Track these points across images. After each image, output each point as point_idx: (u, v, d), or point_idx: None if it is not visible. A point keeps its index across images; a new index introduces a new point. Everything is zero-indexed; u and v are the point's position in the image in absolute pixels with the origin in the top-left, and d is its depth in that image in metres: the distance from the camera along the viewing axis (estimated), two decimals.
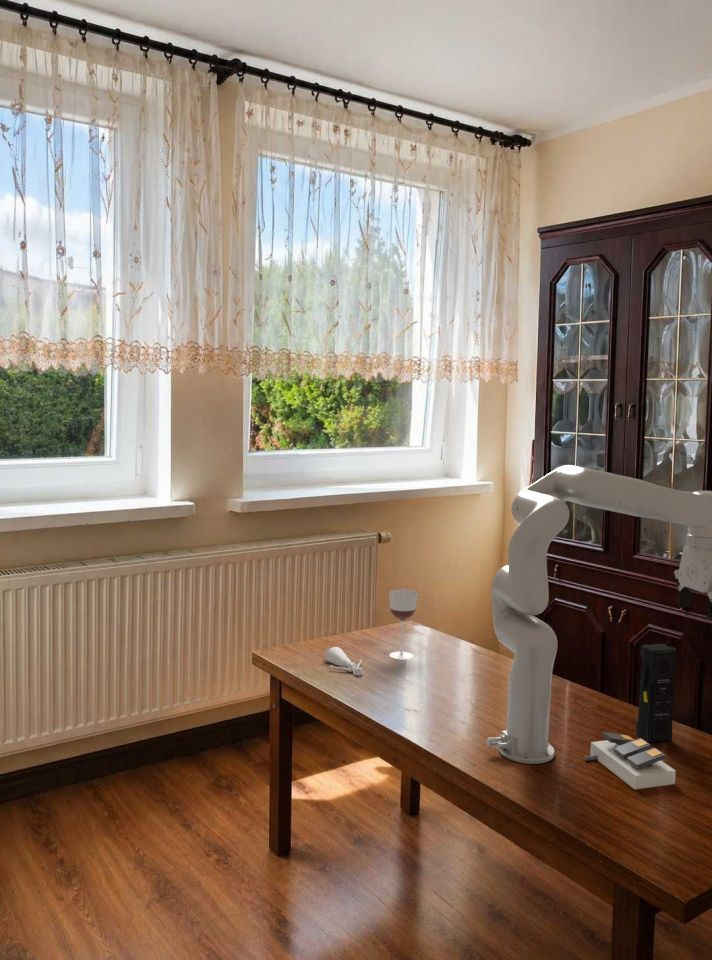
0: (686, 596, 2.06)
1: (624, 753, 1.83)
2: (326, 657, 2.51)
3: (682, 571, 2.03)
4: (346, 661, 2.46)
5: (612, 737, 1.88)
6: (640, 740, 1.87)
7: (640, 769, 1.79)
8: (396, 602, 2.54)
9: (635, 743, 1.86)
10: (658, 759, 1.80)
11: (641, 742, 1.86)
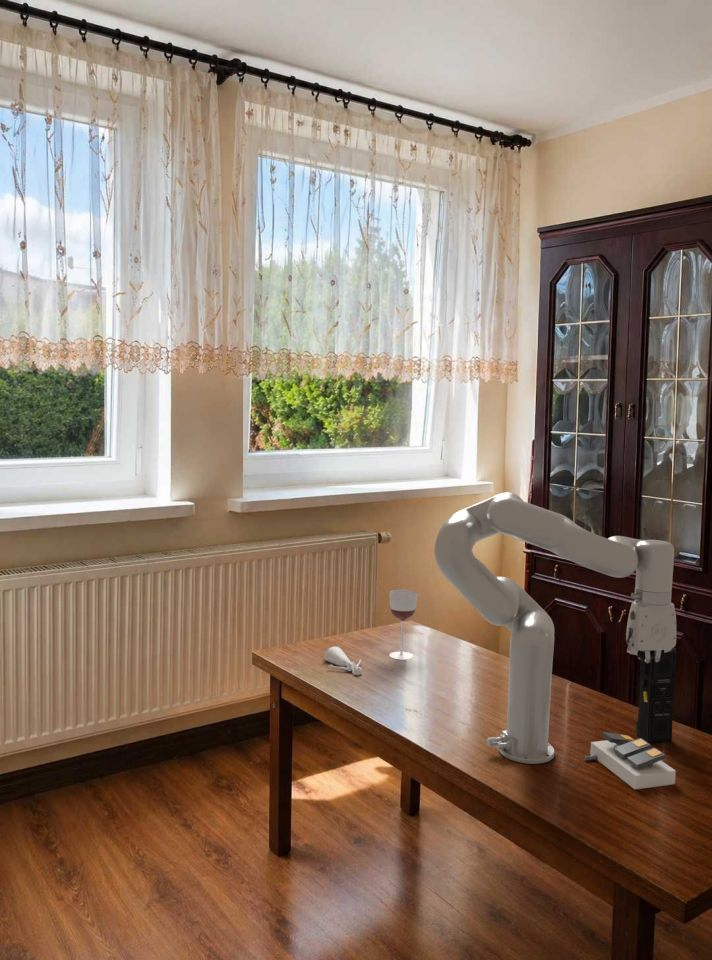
0: None
1: (624, 753, 1.83)
2: (325, 657, 2.51)
3: (645, 635, 1.80)
4: (345, 661, 2.46)
5: (612, 737, 1.88)
6: (640, 740, 1.87)
7: (640, 769, 1.79)
8: (396, 602, 2.54)
9: (635, 743, 1.86)
10: (658, 759, 1.80)
11: (641, 742, 1.86)
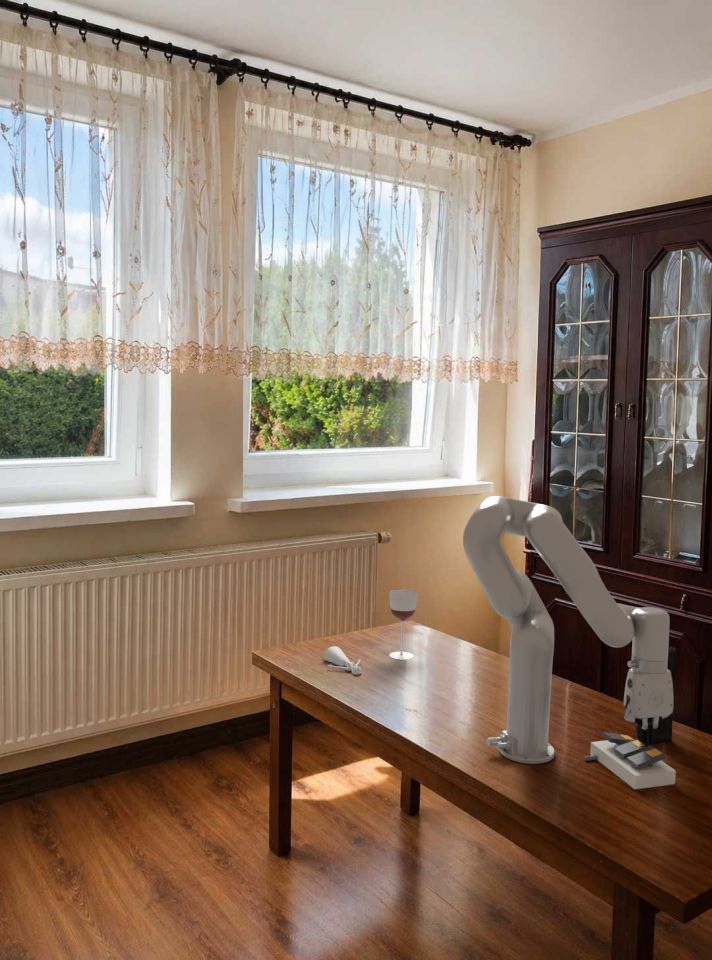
0: None
1: (624, 753, 1.83)
2: (325, 656, 2.52)
3: (642, 703, 1.81)
4: (345, 660, 2.46)
5: (612, 737, 1.88)
6: None
7: (640, 769, 1.79)
8: (396, 602, 2.54)
9: (635, 743, 1.86)
10: (658, 759, 1.80)
11: (641, 742, 1.86)
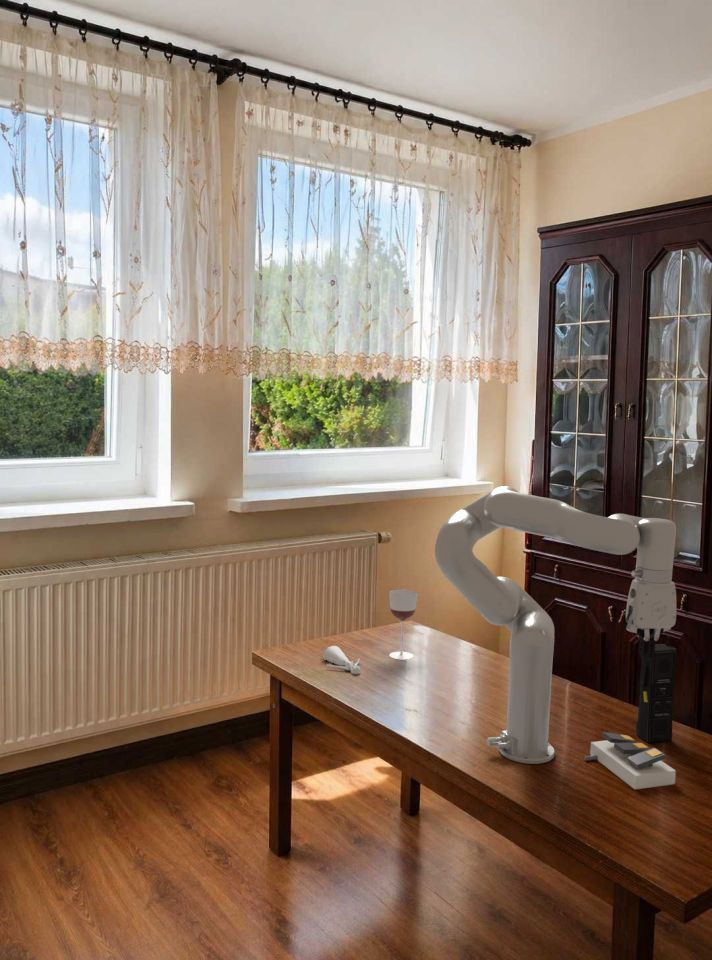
0: None
1: (624, 749, 1.83)
2: (324, 656, 2.52)
3: (644, 613, 1.79)
4: (344, 660, 2.47)
5: (612, 737, 1.88)
6: (641, 743, 1.87)
7: (640, 769, 1.79)
8: (396, 602, 2.54)
9: (636, 744, 1.86)
10: (658, 759, 1.80)
11: (642, 745, 1.86)
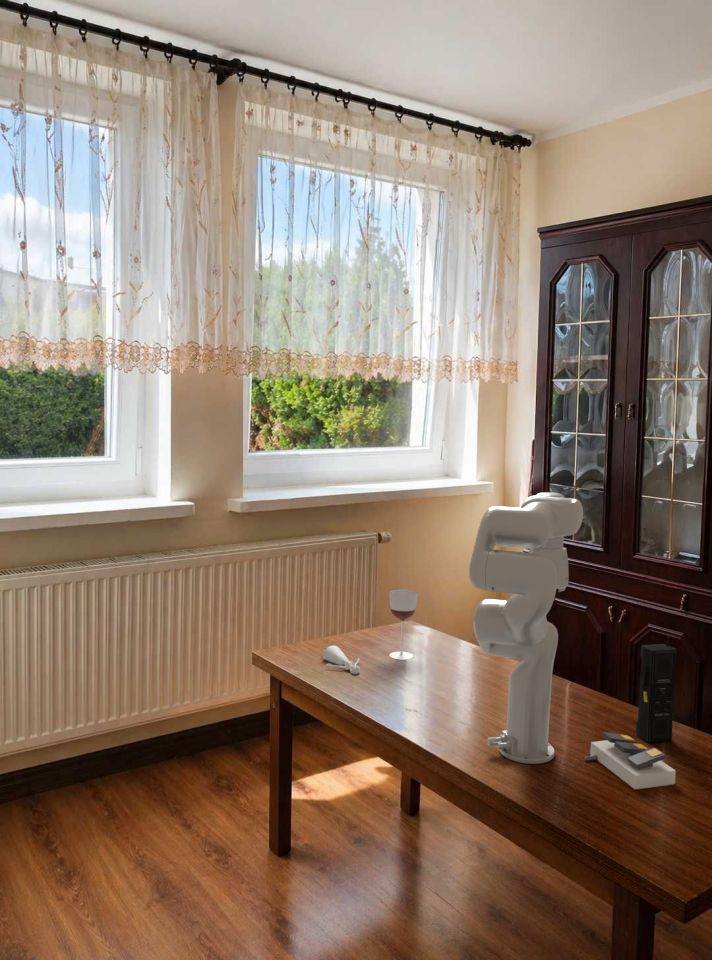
0: None
1: (625, 747, 1.83)
2: (324, 656, 2.52)
3: None
4: (343, 659, 2.47)
5: (612, 737, 1.88)
6: (641, 745, 1.87)
7: (640, 769, 1.79)
8: (396, 602, 2.54)
9: (636, 745, 1.86)
10: (658, 759, 1.80)
11: (642, 746, 1.86)
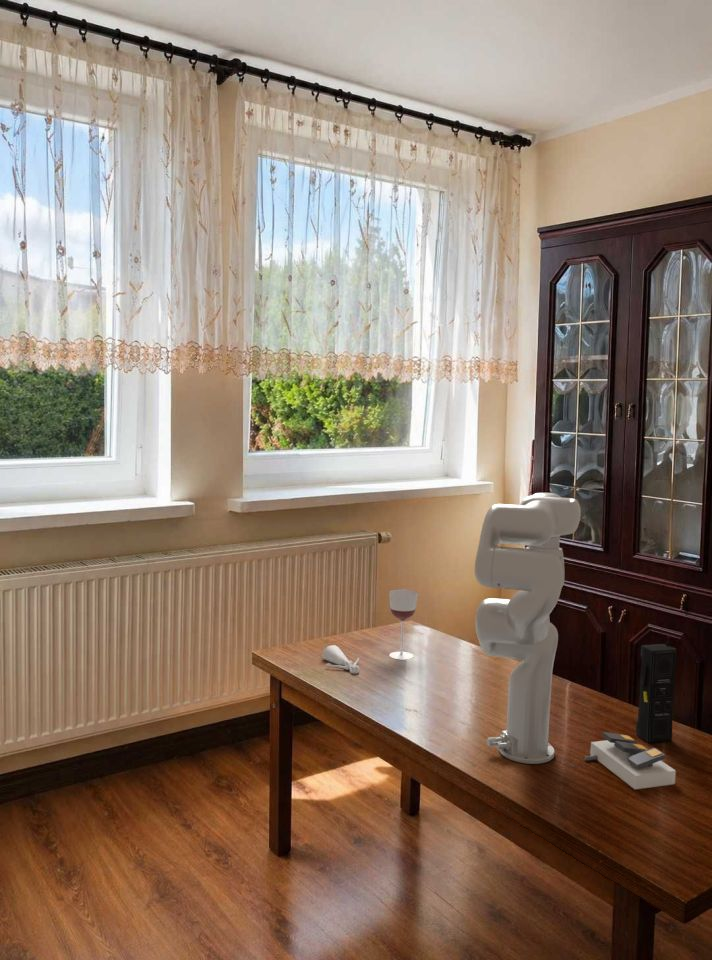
0: None
1: (625, 747, 1.83)
2: (323, 655, 2.52)
3: None
4: (343, 659, 2.47)
5: (612, 737, 1.88)
6: (641, 745, 1.87)
7: (640, 769, 1.79)
8: (396, 602, 2.54)
9: (636, 745, 1.86)
10: (658, 759, 1.80)
11: (642, 747, 1.86)
